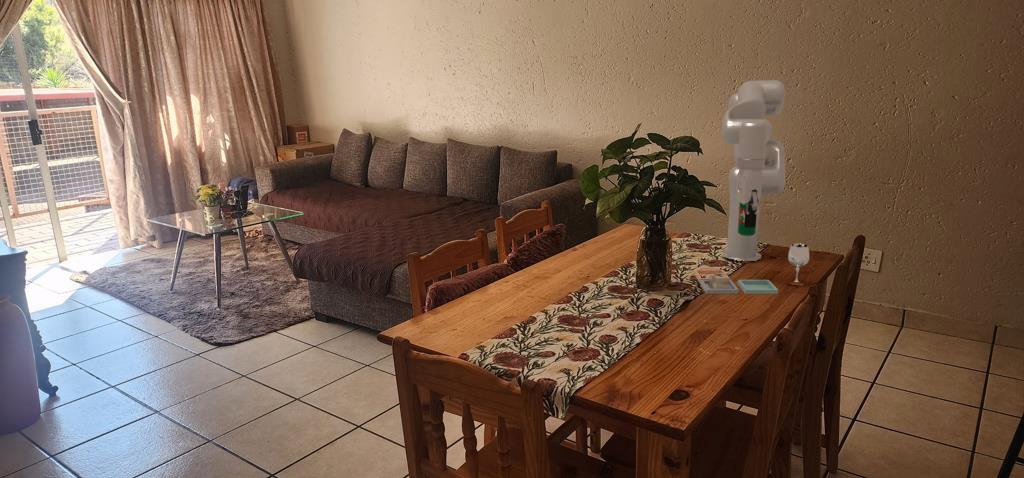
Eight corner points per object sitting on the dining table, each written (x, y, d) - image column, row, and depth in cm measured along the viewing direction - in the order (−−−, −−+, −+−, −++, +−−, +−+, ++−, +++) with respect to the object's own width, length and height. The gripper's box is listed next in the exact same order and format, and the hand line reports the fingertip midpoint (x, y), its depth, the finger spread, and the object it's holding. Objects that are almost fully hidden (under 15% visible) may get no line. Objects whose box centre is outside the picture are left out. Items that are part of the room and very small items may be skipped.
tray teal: (737, 285, 197) (737, 279, 197) (768, 285, 197) (768, 279, 196) (745, 295, 189) (745, 289, 188) (777, 295, 188) (778, 289, 188)
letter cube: (709, 287, 195) (709, 273, 194) (721, 285, 196) (722, 272, 195) (715, 291, 191) (716, 277, 190) (728, 290, 192) (729, 276, 191)
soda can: (752, 232, 200) (755, 193, 197) (757, 236, 195) (760, 196, 192) (735, 232, 200) (738, 193, 197) (739, 236, 195) (742, 196, 193)
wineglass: (803, 288, 193) (807, 249, 190) (783, 285, 197) (786, 246, 194) (808, 283, 198) (812, 244, 195) (788, 279, 201) (792, 241, 198)
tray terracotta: (693, 275, 208) (694, 269, 207) (722, 275, 207) (723, 269, 207) (699, 284, 199) (699, 278, 199) (729, 284, 199) (730, 278, 198)
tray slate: (699, 285, 198) (700, 279, 198) (730, 285, 198) (730, 279, 197) (706, 295, 190) (706, 289, 189) (738, 295, 189) (738, 289, 188)
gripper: (730, 161, 201) (726, 219, 205) (746, 168, 185) (742, 231, 189) (755, 160, 201) (751, 219, 205) (773, 168, 184) (768, 231, 188)
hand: (746, 224), depth 197 cm, fingers closed on soda can, 5 cm apart
